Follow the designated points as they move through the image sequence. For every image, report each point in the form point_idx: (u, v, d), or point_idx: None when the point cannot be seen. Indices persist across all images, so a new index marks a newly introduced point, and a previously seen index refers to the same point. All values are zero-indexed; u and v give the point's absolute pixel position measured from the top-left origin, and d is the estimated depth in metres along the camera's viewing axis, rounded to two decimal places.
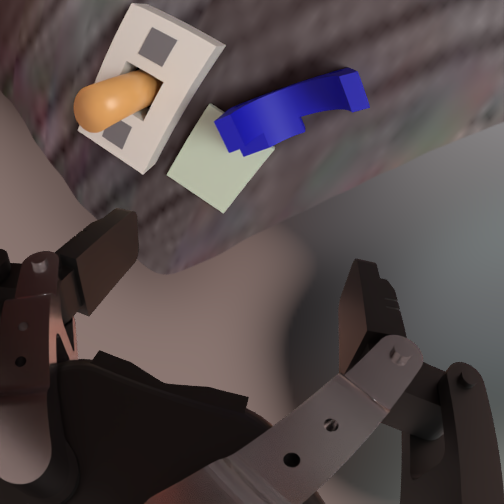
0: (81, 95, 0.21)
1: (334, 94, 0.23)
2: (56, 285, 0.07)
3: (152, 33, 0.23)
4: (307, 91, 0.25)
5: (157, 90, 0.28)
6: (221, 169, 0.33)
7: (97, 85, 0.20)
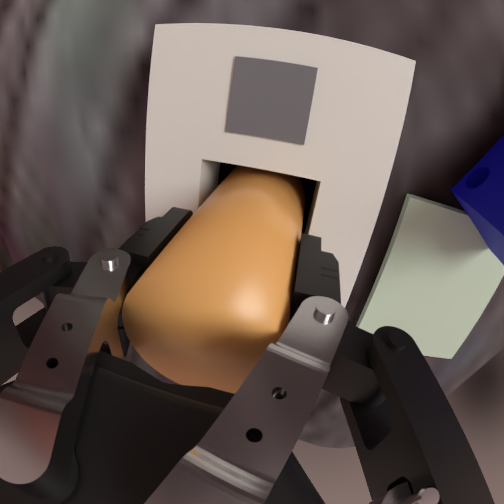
0: (138, 310, 0.07)
1: None
2: (119, 289, 0.07)
3: (243, 70, 0.10)
4: None
5: (301, 204, 0.14)
6: (448, 302, 0.16)
7: (181, 267, 0.07)
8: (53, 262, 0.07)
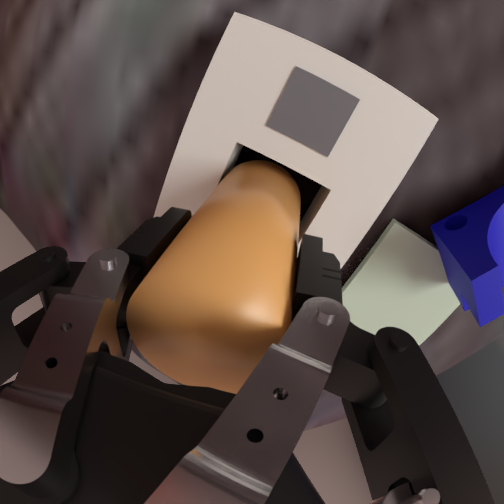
0: (144, 309, 0.07)
1: None
2: (118, 289, 0.07)
3: (298, 80, 0.12)
4: None
5: (298, 207, 0.14)
6: (401, 318, 0.20)
7: (191, 266, 0.07)
8: (52, 262, 0.07)
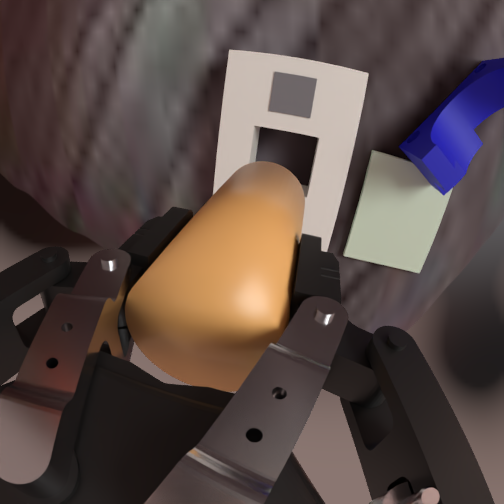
0: (142, 305, 0.07)
1: (500, 90, 0.16)
2: (119, 289, 0.07)
3: (278, 79, 0.20)
4: (471, 97, 0.18)
5: (301, 208, 0.14)
6: (408, 223, 0.26)
7: (188, 263, 0.07)
8: (53, 262, 0.07)
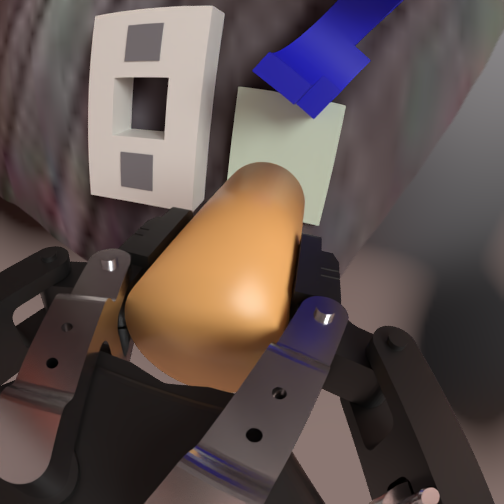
0: (142, 306, 0.07)
1: None
2: (119, 289, 0.07)
3: (132, 31, 0.18)
4: (345, 10, 0.16)
5: (301, 208, 0.14)
6: (291, 164, 0.24)
7: (187, 264, 0.07)
8: (53, 262, 0.07)
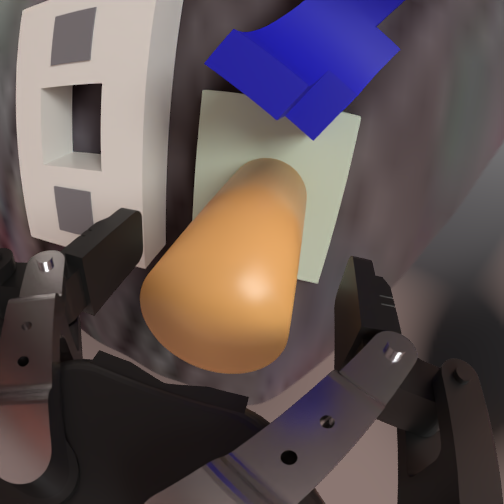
0: (157, 290, 0.08)
1: None
2: (61, 285, 0.07)
3: (59, 24, 0.11)
4: None
5: (303, 202, 0.15)
6: None
7: (201, 250, 0.08)
8: None
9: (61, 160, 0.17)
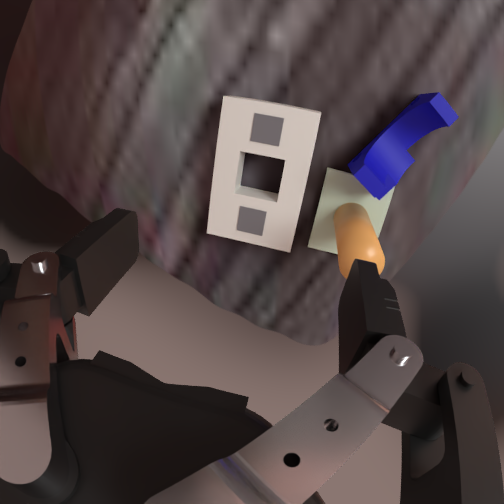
0: (348, 252, 0.27)
1: (426, 119, 0.26)
2: (56, 285, 0.07)
3: (257, 118, 0.30)
4: (404, 125, 0.28)
5: None
6: None
7: (364, 240, 0.26)
8: None
9: (242, 191, 0.36)
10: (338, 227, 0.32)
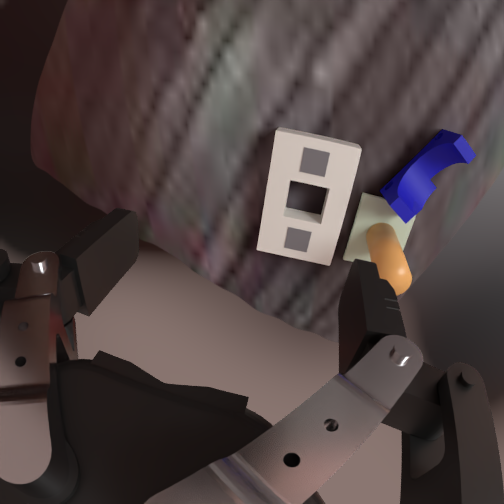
0: (384, 273, 0.32)
1: (449, 155, 0.31)
2: (56, 285, 0.07)
3: (306, 152, 0.35)
4: (429, 159, 0.33)
5: None
6: None
7: (397, 264, 0.31)
8: None
9: (289, 214, 0.40)
10: (373, 247, 0.37)
